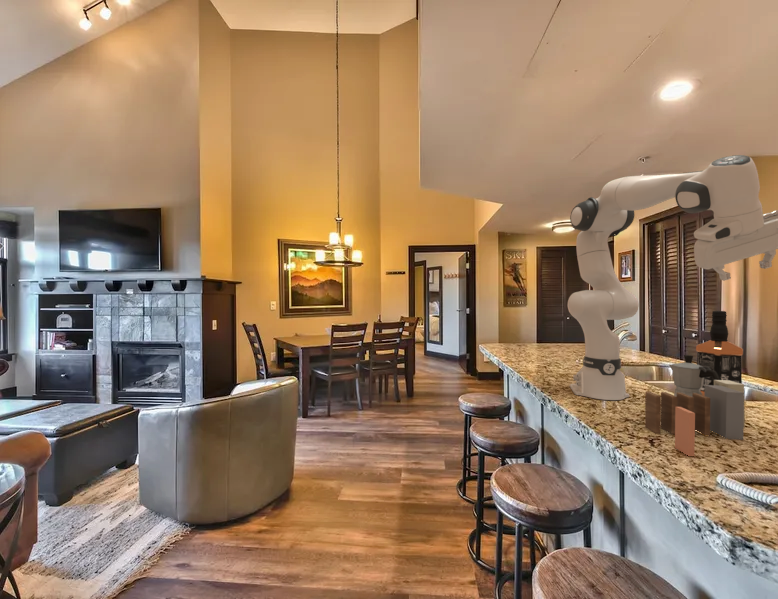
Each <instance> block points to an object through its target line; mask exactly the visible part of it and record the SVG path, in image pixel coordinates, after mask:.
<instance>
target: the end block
mask: <svg viewBox="0 0 778 599" xmlns="http://www.w3.org/2000/svg"><path fill="white" fill-rule="evenodd" d="M705 396H706V397H709V398H710V430H711V431H713V432H715V433H717V434H719V435H721V436H723V437H725V438H724V439H726V438H728V439H727V440H741V441H742V440H744V429H745V427H744V407H745V392H744V393H743V392H740V391H736V390H733V389H730V388H727V387H723V386H718V385H705ZM711 431H710V432H711ZM713 432H712V433H713ZM715 433H714V434H715ZM717 434H716V435H717ZM719 435H718V436H719ZM721 436H720V437H721ZM723 437H722V438H723Z"/></svg>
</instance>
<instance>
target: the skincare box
mask: <svg viewBox="0 0 778 599" xmlns="http://www.w3.org/2000/svg"><path fill="white" fill-rule="evenodd" d="M714 385H718V386H723V387H727V388H730V389H733V390H736V391H740V392H743V393H744V394H745V384H743V383H742V384H741V383H737V382H734V381H730V380H714ZM745 427H746V414H745V406H744V428H745Z"/></svg>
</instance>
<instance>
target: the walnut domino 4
mask: <svg viewBox="0 0 778 599" xmlns="http://www.w3.org/2000/svg"><path fill="white" fill-rule="evenodd" d="M692 397H694V413H695V430H697V431H699V432H701V433H702V434H704V435H709V436H708V437H710V436H711V431H710V398H709V397H706V396H703V395H701V394H698V393H693V394H692ZM702 434H701V435H702ZM704 435H703V436H704Z"/></svg>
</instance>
